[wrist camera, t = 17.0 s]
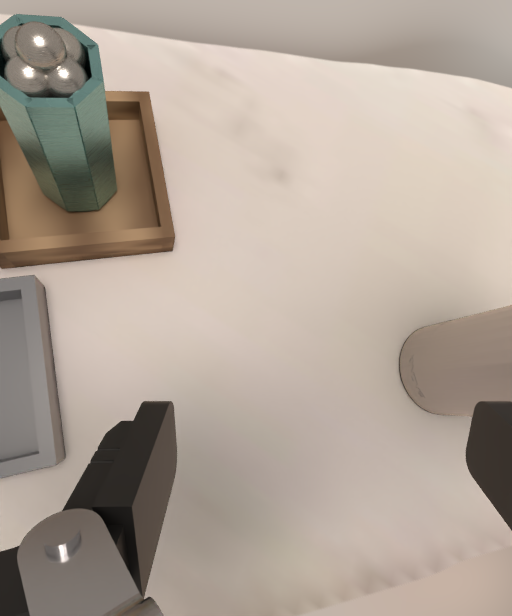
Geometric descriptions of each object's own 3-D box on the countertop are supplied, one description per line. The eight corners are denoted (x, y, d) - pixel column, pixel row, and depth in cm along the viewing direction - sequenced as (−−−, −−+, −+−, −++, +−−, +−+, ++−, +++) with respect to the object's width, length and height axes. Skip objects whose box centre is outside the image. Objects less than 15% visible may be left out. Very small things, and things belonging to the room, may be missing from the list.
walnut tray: (148, 117, 40) (148, 91, 36) (172, 250, 37) (175, 236, 34) (-14, 118, 35) (-30, 89, 32) (2, 268, 33) (-14, 254, 30)
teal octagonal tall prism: (111, 150, 37) (90, -13, 22) (120, 210, 36) (104, 81, 21) (39, 151, 35) (-36, -25, 20) (46, 215, 34) (-27, 78, 19)
